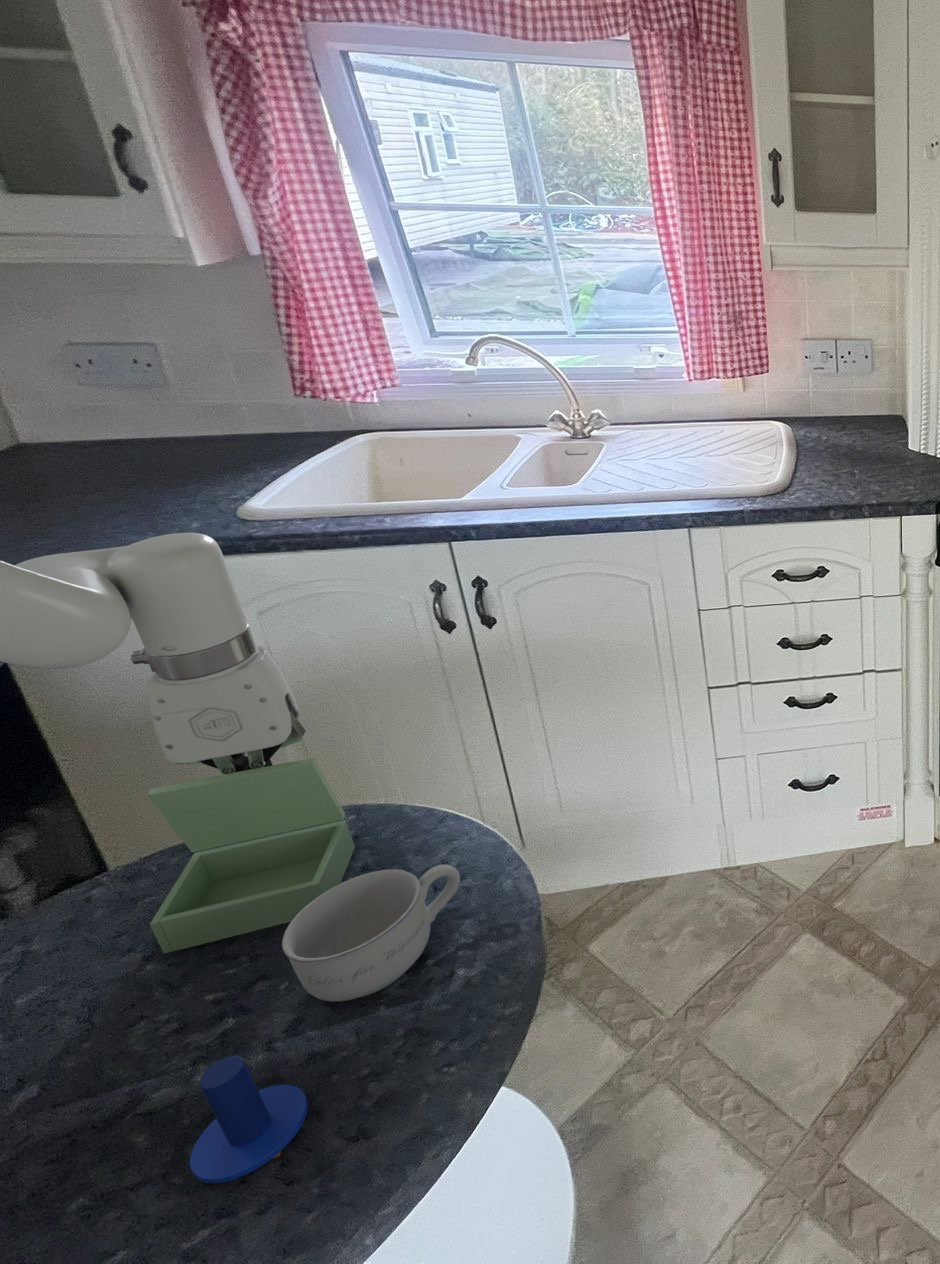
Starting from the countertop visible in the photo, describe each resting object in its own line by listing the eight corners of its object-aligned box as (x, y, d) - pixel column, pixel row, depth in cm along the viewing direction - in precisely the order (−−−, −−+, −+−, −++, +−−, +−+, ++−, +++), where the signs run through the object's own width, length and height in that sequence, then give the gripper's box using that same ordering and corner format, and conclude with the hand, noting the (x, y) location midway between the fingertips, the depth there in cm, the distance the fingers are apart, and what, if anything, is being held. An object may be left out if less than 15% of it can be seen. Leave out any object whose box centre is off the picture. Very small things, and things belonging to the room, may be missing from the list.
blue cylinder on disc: (174, 1200, 63) (138, 1136, 61) (214, 1108, 70) (183, 1047, 67) (291, 1160, 66) (261, 1097, 63) (320, 1075, 72) (294, 1015, 69)
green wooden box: (330, 916, 88) (318, 883, 86) (165, 958, 83) (149, 924, 81) (356, 850, 96) (345, 819, 94) (208, 885, 91) (194, 852, 89)
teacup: (307, 1042, 75) (282, 981, 72) (302, 960, 83) (278, 902, 80) (483, 957, 84) (466, 899, 81) (463, 890, 92) (448, 834, 89)
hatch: (312, 763, 88) (314, 757, 89) (146, 795, 83) (150, 788, 83) (344, 819, 94) (345, 813, 94) (191, 852, 89) (194, 846, 89)
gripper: (84, 687, 77) (154, 836, 84) (284, 656, 83) (334, 798, 90) (125, 647, 84) (187, 788, 90) (308, 620, 89) (353, 755, 96)
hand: (260, 793), depth 90 cm, fingers closed
